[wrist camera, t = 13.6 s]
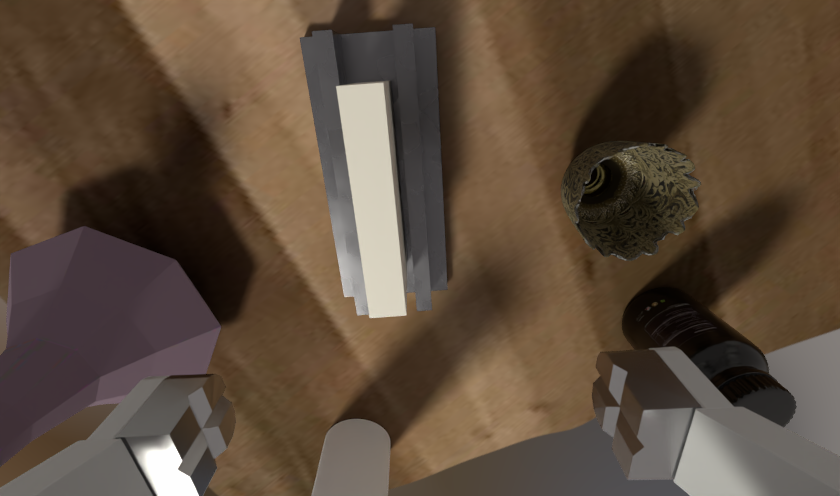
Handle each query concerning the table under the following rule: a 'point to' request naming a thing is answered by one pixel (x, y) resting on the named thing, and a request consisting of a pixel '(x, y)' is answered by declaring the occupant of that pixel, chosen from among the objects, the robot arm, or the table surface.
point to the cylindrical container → (354, 460)
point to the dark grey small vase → (629, 196)
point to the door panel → (376, 193)
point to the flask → (93, 329)
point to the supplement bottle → (708, 350)
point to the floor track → (415, 137)
